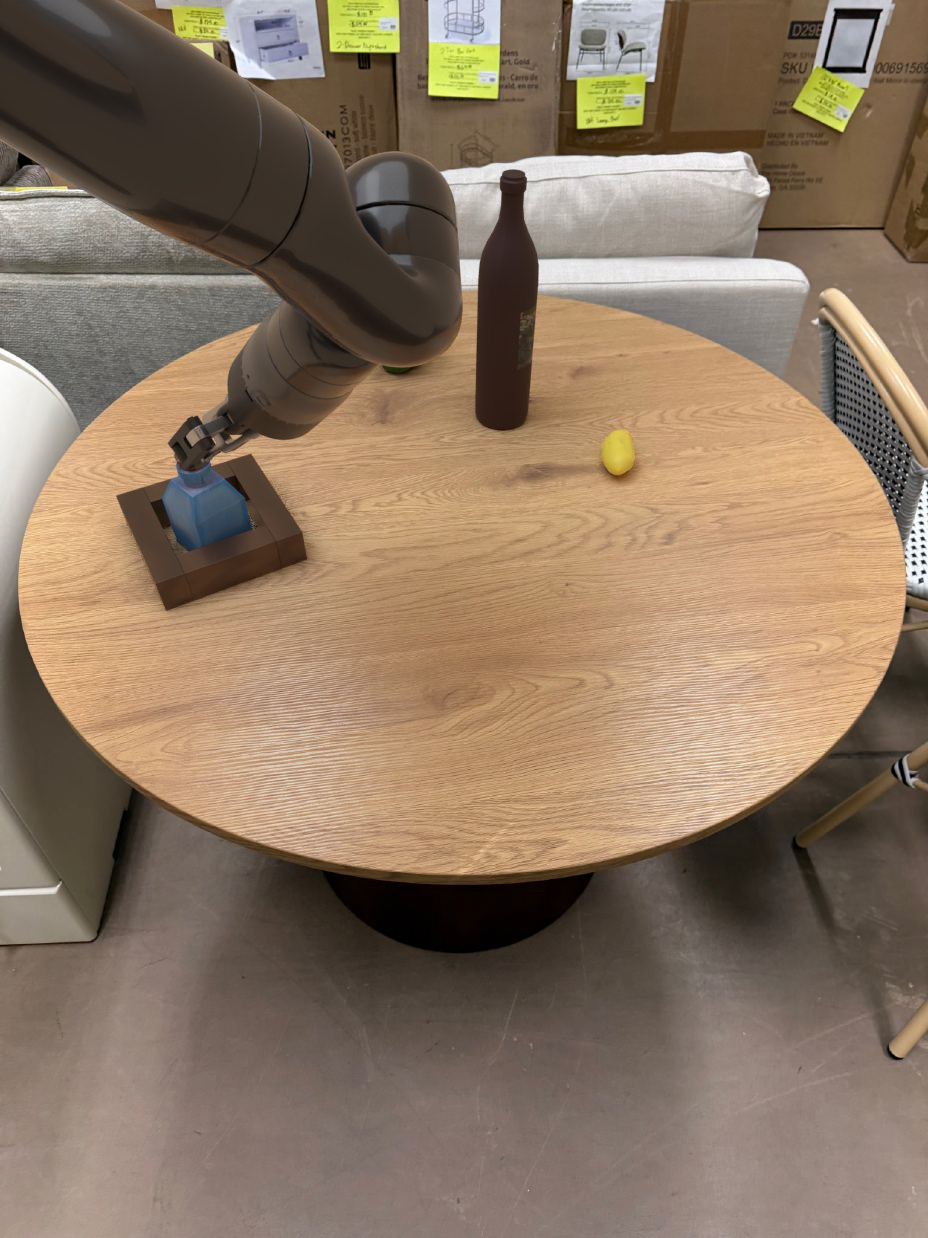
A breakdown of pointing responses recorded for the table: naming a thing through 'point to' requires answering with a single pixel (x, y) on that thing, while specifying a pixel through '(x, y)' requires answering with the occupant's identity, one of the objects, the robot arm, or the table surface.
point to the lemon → (618, 452)
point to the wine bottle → (506, 312)
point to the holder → (220, 560)
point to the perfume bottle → (204, 507)
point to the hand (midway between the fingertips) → (234, 437)
